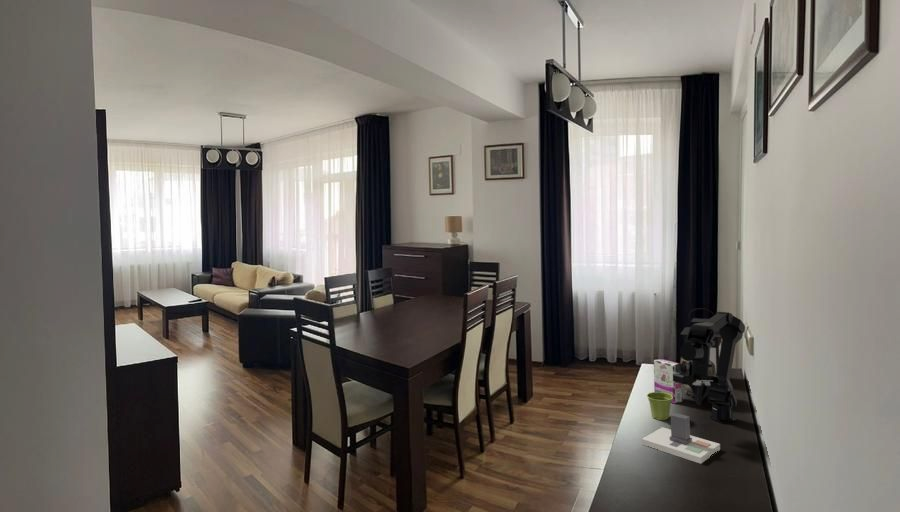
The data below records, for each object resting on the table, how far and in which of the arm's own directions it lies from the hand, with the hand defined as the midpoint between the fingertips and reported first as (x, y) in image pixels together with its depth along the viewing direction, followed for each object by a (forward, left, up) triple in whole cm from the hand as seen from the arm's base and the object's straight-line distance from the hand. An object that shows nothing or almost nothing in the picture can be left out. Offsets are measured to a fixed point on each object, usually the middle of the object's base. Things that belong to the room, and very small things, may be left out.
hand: (698, 403), depth 177 cm
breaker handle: (+12, +6, -9) cm, 16 cm away
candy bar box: (-14, -34, -12) cm, 39 cm away
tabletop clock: (-26, -30, -12) cm, 42 cm away
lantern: (-46, -50, -12) cm, 69 cm away
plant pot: (+2, -18, -12) cm, 22 cm away
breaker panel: (+12, +6, -11) cm, 18 cm away
